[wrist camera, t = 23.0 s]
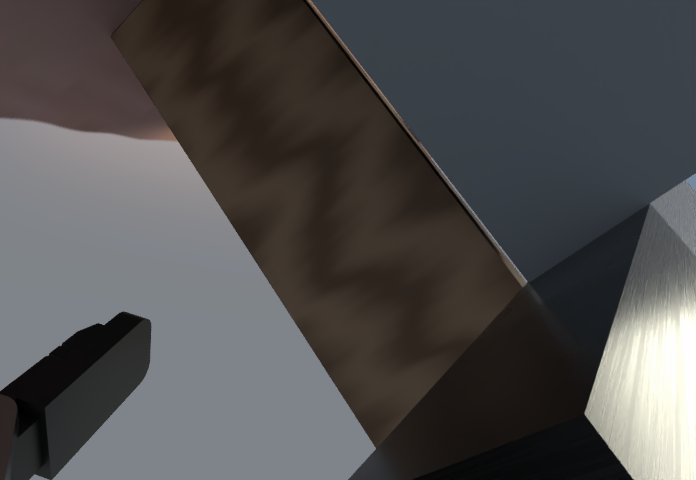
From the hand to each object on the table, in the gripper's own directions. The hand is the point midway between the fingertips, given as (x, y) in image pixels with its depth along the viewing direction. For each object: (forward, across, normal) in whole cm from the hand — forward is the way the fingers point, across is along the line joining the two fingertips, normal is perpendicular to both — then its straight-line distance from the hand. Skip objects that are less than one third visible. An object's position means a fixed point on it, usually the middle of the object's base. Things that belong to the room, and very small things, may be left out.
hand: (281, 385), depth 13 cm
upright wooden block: (+28, -14, +7) cm, 32 cm away
